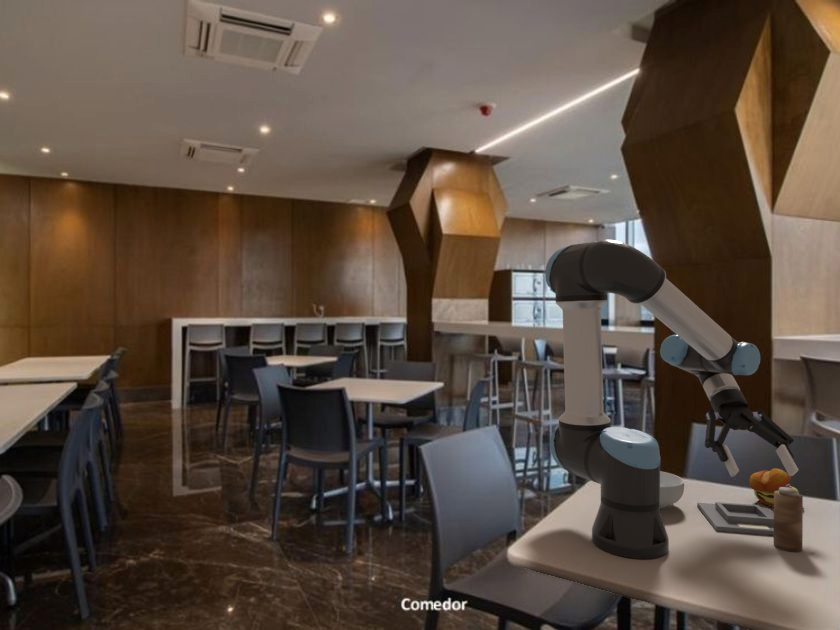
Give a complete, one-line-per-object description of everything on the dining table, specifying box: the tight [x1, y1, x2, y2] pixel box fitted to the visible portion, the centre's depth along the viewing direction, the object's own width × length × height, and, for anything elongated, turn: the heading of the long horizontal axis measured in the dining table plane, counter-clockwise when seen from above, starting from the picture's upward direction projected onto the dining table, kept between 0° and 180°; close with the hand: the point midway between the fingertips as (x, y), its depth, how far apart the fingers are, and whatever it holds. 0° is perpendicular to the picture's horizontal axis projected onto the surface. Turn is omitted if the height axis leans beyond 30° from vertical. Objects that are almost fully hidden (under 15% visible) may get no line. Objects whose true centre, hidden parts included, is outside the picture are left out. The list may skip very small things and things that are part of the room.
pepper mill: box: [773, 487, 804, 553], centre depth 115 cm, size 5×5×12 cm
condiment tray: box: [697, 501, 774, 537], centre depth 130 cm, size 16×16×2 cm
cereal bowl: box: [659, 470, 685, 510], centre depth 141 cm, size 17×17×7 cm
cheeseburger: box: [748, 467, 800, 508], centre depth 141 cm, size 10×11×10 cm
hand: (764, 473), depth 124 cm, fingers open, 13 cm apart
